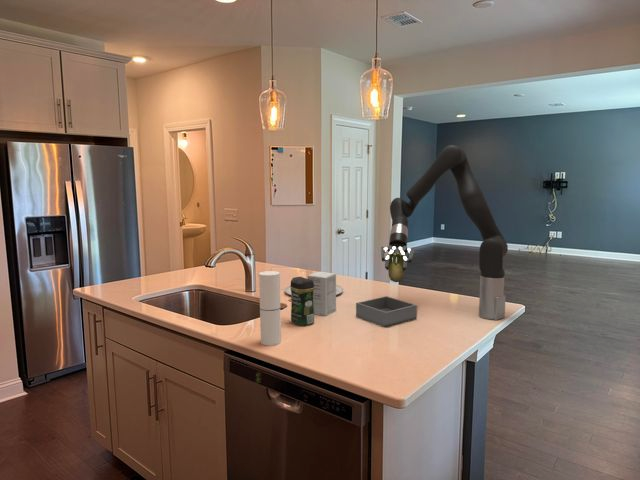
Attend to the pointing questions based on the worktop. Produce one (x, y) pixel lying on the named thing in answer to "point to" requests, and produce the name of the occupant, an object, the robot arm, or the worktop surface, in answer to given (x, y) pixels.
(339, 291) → the plated food
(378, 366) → the worktop surface
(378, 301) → the bin
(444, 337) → the worktop surface
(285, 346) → the worktop surface
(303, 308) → the coffee jar
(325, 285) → the supplement box
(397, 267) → the fennel bulb
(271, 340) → the cylindrical container
